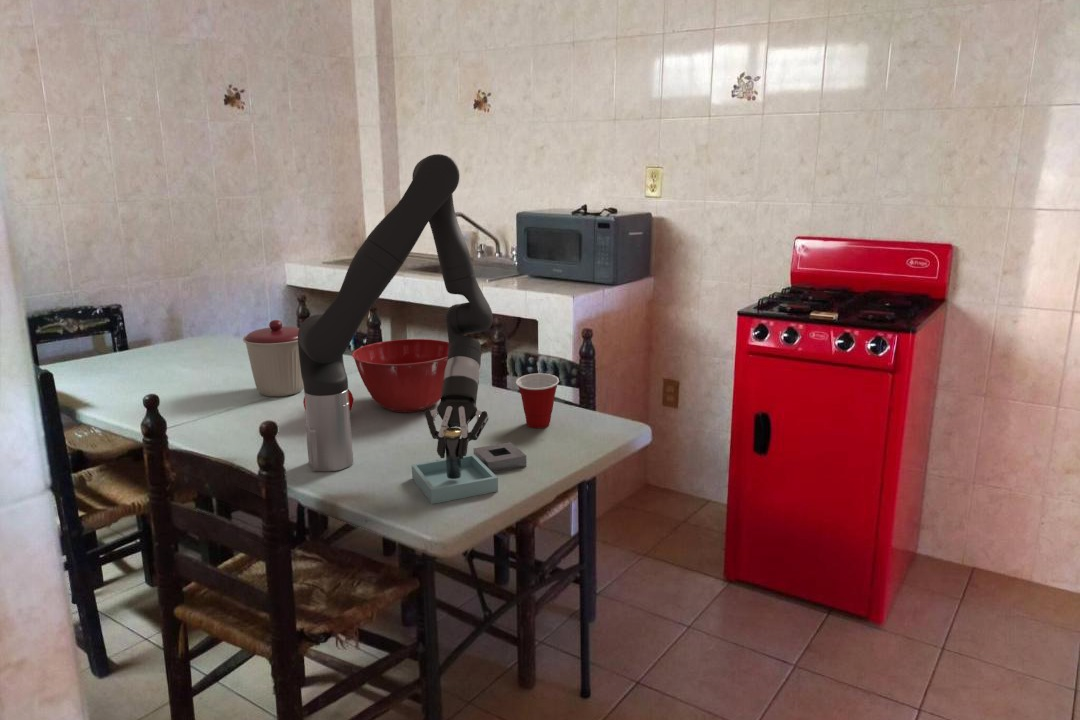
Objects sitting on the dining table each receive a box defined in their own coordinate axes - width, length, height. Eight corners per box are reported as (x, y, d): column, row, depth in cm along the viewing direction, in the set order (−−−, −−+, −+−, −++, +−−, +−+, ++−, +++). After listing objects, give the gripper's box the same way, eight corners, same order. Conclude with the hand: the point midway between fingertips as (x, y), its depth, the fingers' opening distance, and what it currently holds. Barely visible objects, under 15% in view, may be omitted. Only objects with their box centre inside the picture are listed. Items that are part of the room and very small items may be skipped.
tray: (431, 503, 155) (431, 489, 154) (412, 477, 167) (411, 464, 166) (498, 491, 160) (497, 477, 159) (474, 466, 173) (474, 454, 172)
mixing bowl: (334, 405, 214) (330, 350, 210) (417, 383, 234) (415, 332, 230) (398, 429, 196) (395, 370, 192) (482, 403, 216) (481, 348, 212)
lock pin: (448, 480, 161) (446, 434, 158) (443, 474, 164) (441, 429, 161) (465, 477, 162) (463, 432, 160) (459, 471, 165) (457, 426, 163)
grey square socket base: (488, 473, 169) (487, 462, 169) (473, 458, 177) (473, 448, 176) (526, 466, 173) (526, 455, 172) (510, 452, 181) (510, 442, 180)
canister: (313, 380, 238) (307, 312, 232) (315, 397, 221) (309, 324, 216) (249, 385, 232) (242, 316, 227) (247, 404, 216) (239, 329, 210)
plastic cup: (508, 427, 197) (507, 381, 194) (529, 415, 206) (529, 371, 203) (546, 434, 192) (546, 387, 189) (566, 421, 201) (566, 376, 198)
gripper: (425, 373, 166) (413, 448, 157) (491, 374, 164) (483, 451, 156) (431, 389, 172) (420, 463, 164) (495, 391, 171) (487, 465, 162)
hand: (451, 456), depth 160 cm, fingers open, 3 cm apart
